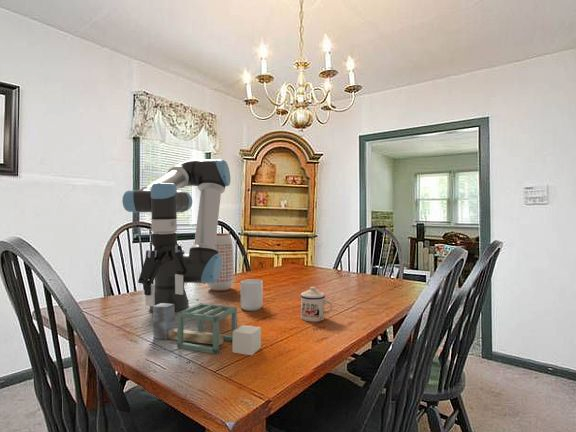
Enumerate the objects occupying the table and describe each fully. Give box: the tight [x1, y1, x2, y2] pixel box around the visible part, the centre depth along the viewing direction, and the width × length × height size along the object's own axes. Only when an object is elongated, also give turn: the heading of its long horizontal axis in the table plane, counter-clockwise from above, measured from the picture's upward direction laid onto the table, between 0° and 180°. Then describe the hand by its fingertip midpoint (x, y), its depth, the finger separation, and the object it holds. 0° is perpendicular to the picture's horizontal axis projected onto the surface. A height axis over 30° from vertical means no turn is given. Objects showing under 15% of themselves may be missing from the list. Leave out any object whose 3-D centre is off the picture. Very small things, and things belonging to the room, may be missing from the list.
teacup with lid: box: [300, 286, 334, 323], centre depth 132 cm, size 12×9×12 cm
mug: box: [240, 278, 264, 312], centre depth 147 cm, size 12×9×11 cm
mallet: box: [152, 303, 224, 346], centre depth 109 cm, size 23×4×10 cm, turn 70°
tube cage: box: [176, 302, 238, 355], centre depth 106 cm, size 13×11×10 cm
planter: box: [207, 232, 235, 292], centre depth 180 cm, size 13×13×28 cm
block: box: [231, 324, 262, 356], centre depth 102 cm, size 6×6×6 cm
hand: (165, 299), depth 113 cm, fingers open, 13 cm apart
